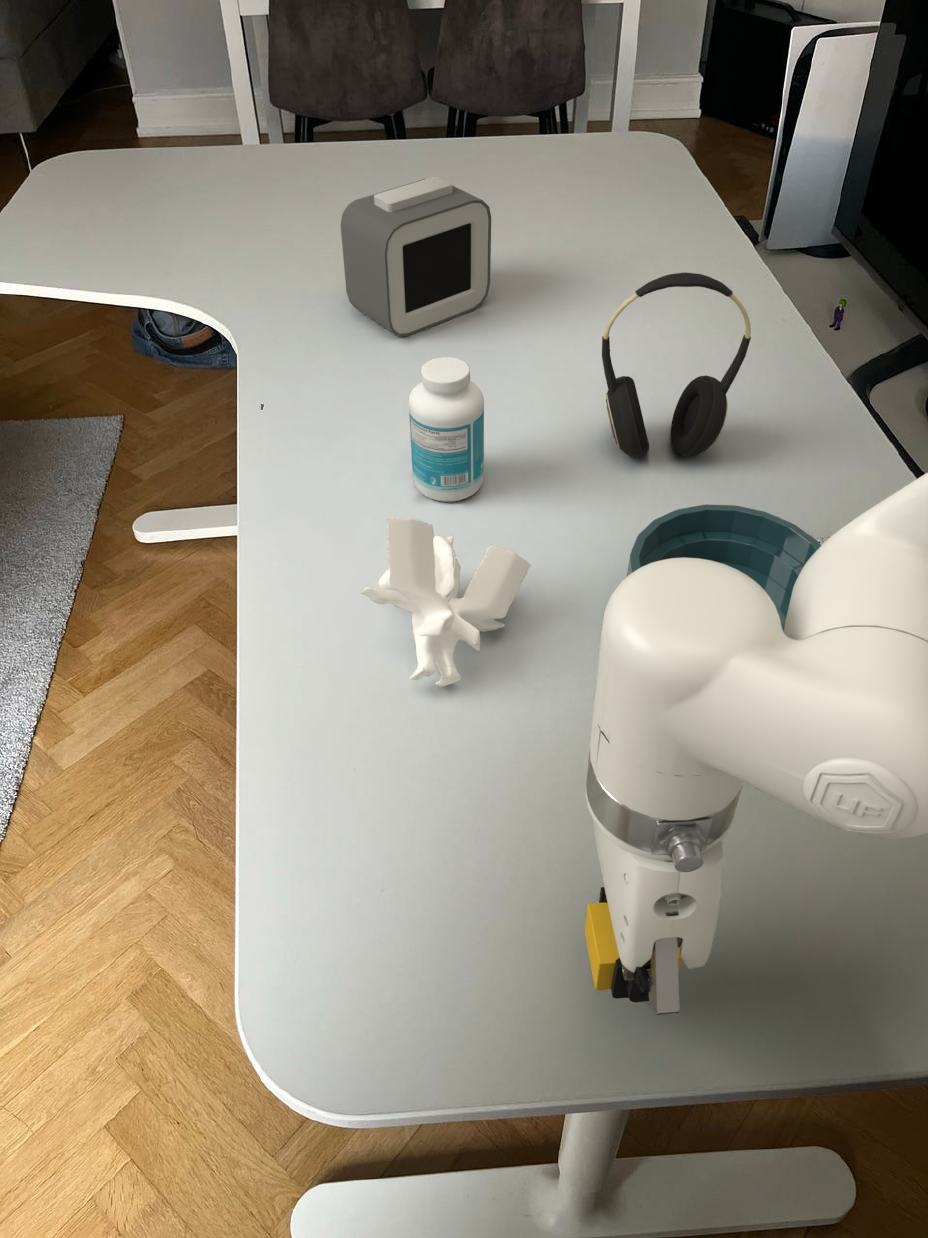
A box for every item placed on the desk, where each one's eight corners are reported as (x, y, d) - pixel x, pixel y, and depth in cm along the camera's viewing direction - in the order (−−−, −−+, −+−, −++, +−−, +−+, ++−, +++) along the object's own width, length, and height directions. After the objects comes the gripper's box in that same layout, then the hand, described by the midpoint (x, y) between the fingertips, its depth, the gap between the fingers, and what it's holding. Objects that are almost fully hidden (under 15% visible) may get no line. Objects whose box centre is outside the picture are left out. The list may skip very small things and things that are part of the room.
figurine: (460, 717, 91) (457, 579, 97) (541, 679, 82) (532, 531, 88) (314, 686, 83) (320, 538, 88) (388, 641, 74) (389, 480, 80)
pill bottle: (449, 453, 108) (447, 340, 98) (498, 483, 104) (501, 368, 94) (397, 483, 104) (390, 368, 94) (446, 514, 100) (444, 398, 91)
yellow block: (584, 931, 64) (587, 903, 61) (661, 924, 64) (667, 896, 62) (595, 991, 61) (599, 964, 58) (675, 984, 61) (682, 956, 59)
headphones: (733, 472, 105) (775, 295, 91) (594, 473, 105) (613, 296, 91) (718, 427, 111) (755, 253, 97) (586, 427, 111) (604, 254, 97)
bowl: (854, 607, 90) (873, 557, 86) (765, 724, 81) (781, 674, 77) (684, 530, 98) (694, 481, 94) (585, 628, 89) (591, 578, 84)
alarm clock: (390, 343, 125) (382, 219, 114) (339, 309, 131) (328, 189, 120) (489, 304, 132) (491, 184, 121) (437, 274, 138) (435, 157, 127)
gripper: (789, 926, 44) (723, 1087, 56) (695, 654, 56) (658, 837, 68) (620, 941, 43) (593, 1100, 56) (562, 664, 55) (550, 847, 68)
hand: (629, 954), depth 62 cm, fingers closed on yellow block, 4 cm apart
